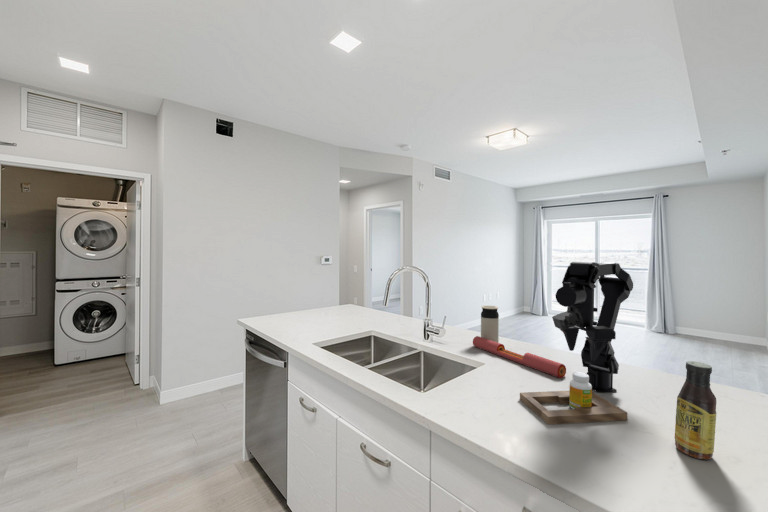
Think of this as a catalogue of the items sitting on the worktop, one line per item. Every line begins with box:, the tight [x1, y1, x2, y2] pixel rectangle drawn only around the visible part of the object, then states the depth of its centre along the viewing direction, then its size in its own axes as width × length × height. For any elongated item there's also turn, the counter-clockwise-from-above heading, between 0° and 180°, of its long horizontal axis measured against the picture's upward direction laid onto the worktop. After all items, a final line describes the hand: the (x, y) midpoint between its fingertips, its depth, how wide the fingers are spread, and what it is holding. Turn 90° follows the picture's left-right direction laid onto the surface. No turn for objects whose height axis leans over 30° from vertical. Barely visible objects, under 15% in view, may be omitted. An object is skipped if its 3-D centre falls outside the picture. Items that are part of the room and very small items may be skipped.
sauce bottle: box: [674, 360, 717, 461], centre depth 70 cm, size 7×6×20 cm
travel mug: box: [480, 305, 500, 343], centre depth 152 cm, size 8×8×18 cm
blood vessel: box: [472, 335, 567, 379], centre depth 131 cm, size 42×5×5 cm, turn 27°
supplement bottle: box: [569, 371, 593, 409], centre depth 90 cm, size 5×5×10 cm
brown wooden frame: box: [519, 390, 629, 425], centre depth 90 cm, size 22×14×2 cm, turn 96°
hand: (581, 355), depth 97 cm, fingers open, 9 cm apart
